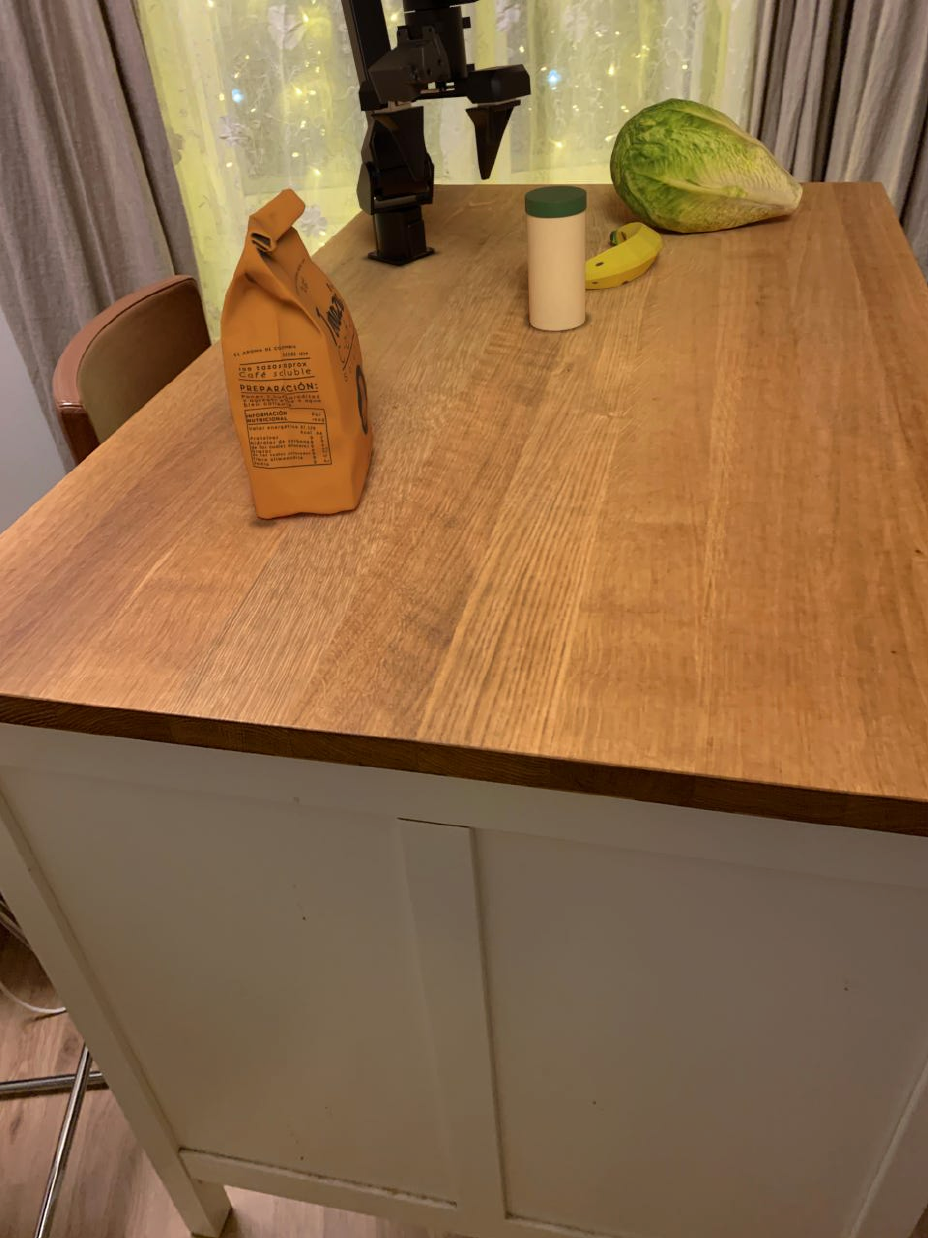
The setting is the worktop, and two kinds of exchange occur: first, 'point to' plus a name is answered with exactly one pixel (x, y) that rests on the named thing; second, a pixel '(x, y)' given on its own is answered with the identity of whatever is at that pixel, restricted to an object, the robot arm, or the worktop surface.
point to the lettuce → (697, 170)
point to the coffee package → (294, 373)
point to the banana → (623, 257)
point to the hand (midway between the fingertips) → (451, 179)
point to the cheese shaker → (556, 256)
